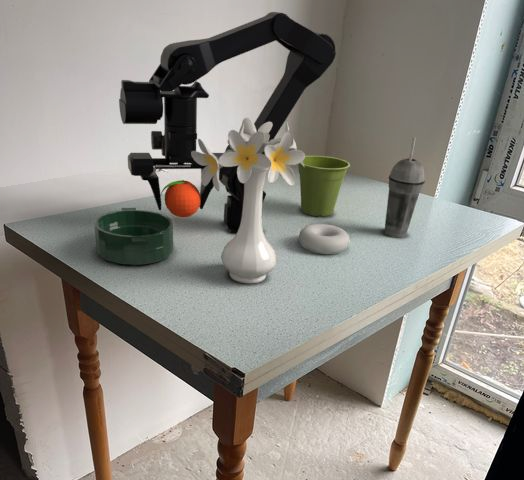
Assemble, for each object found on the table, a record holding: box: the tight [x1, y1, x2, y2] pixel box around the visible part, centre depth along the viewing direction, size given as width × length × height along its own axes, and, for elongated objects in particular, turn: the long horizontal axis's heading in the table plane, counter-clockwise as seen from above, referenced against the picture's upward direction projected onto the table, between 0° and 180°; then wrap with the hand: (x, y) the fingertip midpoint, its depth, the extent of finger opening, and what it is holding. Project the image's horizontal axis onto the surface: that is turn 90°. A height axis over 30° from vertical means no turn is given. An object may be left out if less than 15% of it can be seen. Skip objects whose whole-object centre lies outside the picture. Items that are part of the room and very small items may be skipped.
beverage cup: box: [384, 135, 426, 238], centre depth 114 cm, size 7×7×20 cm
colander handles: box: [121, 207, 149, 245], centre depth 98 cm, size 3×17×1 cm, turn 18°
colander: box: [93, 209, 174, 266], centre depth 99 cm, size 13×13×6 cm
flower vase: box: [191, 117, 306, 285], centre depth 88 cm, size 13×18×25 cm
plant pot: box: [297, 155, 351, 217], centre depth 125 cm, size 12×12×11 cm
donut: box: [298, 223, 351, 255], centre depth 109 cm, size 10×4×10 cm
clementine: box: [160, 179, 201, 219], centre depth 107 cm, size 8×7×7 cm
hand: (180, 209), depth 108 cm, fingers closed on clementine, 8 cm apart
